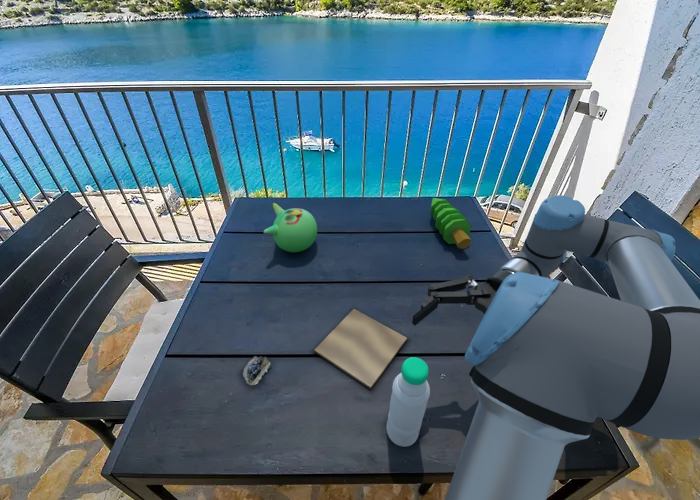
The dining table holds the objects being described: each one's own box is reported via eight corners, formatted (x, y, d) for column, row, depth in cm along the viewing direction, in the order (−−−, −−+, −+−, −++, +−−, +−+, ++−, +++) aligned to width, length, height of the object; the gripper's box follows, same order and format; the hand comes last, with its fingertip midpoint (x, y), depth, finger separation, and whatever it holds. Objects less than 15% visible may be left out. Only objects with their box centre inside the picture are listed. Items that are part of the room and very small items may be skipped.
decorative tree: (462, 227, 116) (428, 183, 138) (443, 253, 123) (414, 206, 145) (487, 234, 121) (451, 189, 143) (468, 258, 127) (436, 212, 149)
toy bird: (316, 261, 122) (313, 226, 112) (267, 260, 122) (261, 226, 113) (319, 231, 136) (317, 198, 127) (276, 230, 136) (271, 198, 127)
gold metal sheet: (370, 389, 84) (370, 387, 84) (314, 352, 93) (314, 349, 92) (406, 340, 96) (407, 337, 95) (353, 310, 104) (353, 308, 103)
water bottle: (414, 453, 73) (432, 391, 58) (382, 440, 75) (391, 377, 60) (421, 421, 78) (439, 356, 63) (391, 410, 80) (401, 344, 65)
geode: (274, 358, 91) (273, 354, 90) (265, 387, 85) (264, 383, 84) (249, 356, 92) (247, 352, 90) (238, 384, 85) (236, 380, 84)
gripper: (562, 334, 67) (495, 407, 59) (458, 262, 81) (392, 312, 73) (578, 313, 62) (507, 389, 53) (464, 239, 76) (394, 291, 67)
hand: (441, 345), depth 63 cm, fingers open, 13 cm apart
